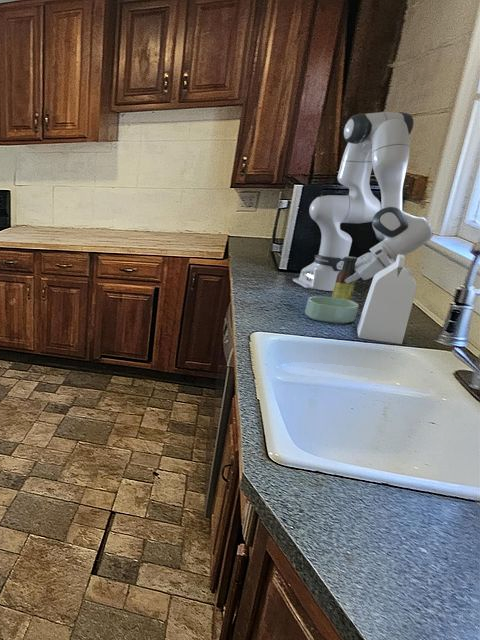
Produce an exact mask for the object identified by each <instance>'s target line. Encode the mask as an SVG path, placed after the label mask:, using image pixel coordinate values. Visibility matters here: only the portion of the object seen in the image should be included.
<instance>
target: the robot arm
mask: <svg viewBox="0 0 480 640" xmlns="http://www.w3.org/2000/svg"><path fill="white" fill-rule="evenodd" d="M413 127H414V118H413V115H411V114H410V113H408V112H402V111H399V112H394V111H379V112H369V113H364V112H363V113H358V114H354V115H352V116H350V117H349V118H348V119H347V121H346V123H345V125H344V128H343V138H344V140H345V142H347V144H346V146H345V148H344V151H343V155H342V157H341V162H340V165H339V170H338V174H337V181H338V183H339V184H340V185H341V186H343V187H345V188H347V189H348V191H349V192H348V194H347V195H342V194H341V195H337V194H336V195H335V194H333V195H332V194H329V195H323V196H322V195H321V196H317V197H316V198H315V199H313V200H312V202H311V203H310V205H309V209H308V210H309V211H308V212H309V217H310V218H311V219H312V220H313V221H314V222H315V223H316V224H317V226H318V227H319V230H320V234H321V235H320V236H321V238H320V245H319V250H318V254H314V256H313V258H314V260H313V262H312V263H310V264H309V265H306V266H304V267H303V268H302V269H301V271H300V274H299V277H295V278H292V282H293V283H296V284H297V285H299V286H301V287H303V288H305V289H311V290H318V291H324V292H325V291H327V292H333V290H334V286H335V282H336V278H337V275H338V273H339V272H340V271H341V270H342V267H343V264H344V257H347V256H350V255H349V254H350V251H351V247H352V243H353V238H352V237H351V235H350V234H349V233H348V232H346V231H344V230H342V229H341V224H364V223H365V224H366V223H371V225H372V229H373V231H374V234H375V237H376V239H377V240H378V241H379V242H378V243H377V244H375V245H374V246H372V247H370V248H369V251H370V252H369V251H368V252H366V253H363V254H362V255H360V256H359V257H357V261H356V263H355V268H354V270H355V273H354V275H352V276H350V277H347V278H346V279H345V280H344V281H345V282H346V283H347V284H349V283H350V282H352V281H355V280H356V281H357V280H360V279H362V280H363V281H367V280H370V279H373V277H374V275H375V274H377V273H378V272H379V271H381V270H383V269H385V268H386V267H388V266H390V265H392V264H394V263H395V262H396V259H397V256H398V254H400V255H404V256H406V255H409V254H411V253H413V252H415V251H416V250H418V249H420V247H423V246H424V245H425V244H427V243H428V242H429V241H430V240H431V239H432V238H433V237H434V230H433V227H432V225H431V224H430V222H429V221H428V219H427V218H425V217H422V216H416V215H412V214H410V213H407V212H405V211H403V188H404V183H405V178H406V173H407V170H408V165H409V160H410V152H411V151H410V149H411V147H410V145H411V144H410V143H411V142H410V135H411V134H412V131H413ZM372 171H373V174H374V177H375V180H376V182H377V184H378V186H379V190H380V197H381V199H380V200H381V201H380V200H379V199H378V198H377V197H376V196H375V195H374V193H373V192H372V190H371V184H370V180H371V174H372ZM356 281H355V282H356Z"/></svg>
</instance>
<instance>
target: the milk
mask: <svg viewBox="0 0 480 640" xmlns="http://www.w3.org/2000/svg"><path fill="white" fill-rule="evenodd" d="M405 261H406V256H405V255H400V254H398V256H397V259H396V262H395V263H394V264H392V265H390V266H388V267H386V268H385V269H383V270H381V271H379V272H378V273H377V274H375V275H374V277H372V280H371V283H370V286H369V290H368V293H367V296H366V298H365V302H364V306H363V308H362V312H361V314H360V317H359V321H358V323H357V326H356V332H357V337H358V339H363V340H371V341H377V342H383V343H391V344H396V345H397V344H398V345H403V343H404V342H403V341H404V338H405V334H406V330H407V327H408V322H409V320H410V315H411V311H412V307H413V303H414V300H415V295H416V292H417V289H418V288H417V287H418V282H417V281H416V280H415V278H414V277H413V276H414V275H415V273H414V271H413V270H412V269H411V267H405V263H406V262H405Z"/></svg>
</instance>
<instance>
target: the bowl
mask: <svg viewBox="0 0 480 640" xmlns="http://www.w3.org/2000/svg"><path fill="white" fill-rule="evenodd" d="M359 307H360V306H359V304H358V303H357V302H355V301H354V300H352V299H351V300H347V299H342V298H336V297H332V296H327V295H326V296H325V295H324V296H322V295H314V296H309V297H308V298H307V302H306V305H305V310H304V314H305V316H307V317H308V318H310V319H312V320H314V321H318V322H322V323H328V324H339V325H340V324H343V325H344V324H349V323H351V322H353V321H356V317H357V314H358V310H359Z"/></svg>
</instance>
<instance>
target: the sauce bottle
mask: <svg viewBox="0 0 480 640" xmlns="http://www.w3.org/2000/svg"><path fill="white" fill-rule="evenodd" d="M357 258H358V257H356V256H350V255H348V256H347V257H344V264H343V267H342V270H341V271H340V272H339V273H338V275H337V278H336V282H335V286H334V290H333V291H332V294H331V297H336V298H342V299H347V300H351V301H352V297H353V293H354V290H355V285H356V281H357V280H355V281H352V282H350V283H349V284H347V283H346V282H345V281H344V280H345V279H346V278H347V277H350V276H352V275H354V273H356V272H355V270H354V268H355V263H356V261H357Z"/></svg>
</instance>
